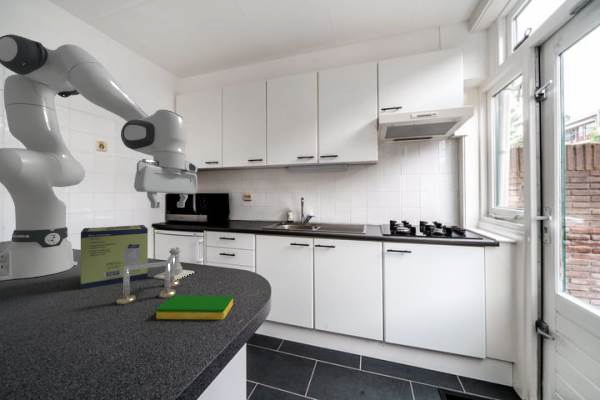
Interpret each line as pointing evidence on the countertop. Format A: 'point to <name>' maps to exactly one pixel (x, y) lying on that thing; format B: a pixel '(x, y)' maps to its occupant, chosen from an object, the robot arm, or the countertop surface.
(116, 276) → the protein box
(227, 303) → the dish sponge
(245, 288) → the countertop surface
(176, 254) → the rook chess piece
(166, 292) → the angled post rail
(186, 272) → the coaster pad
